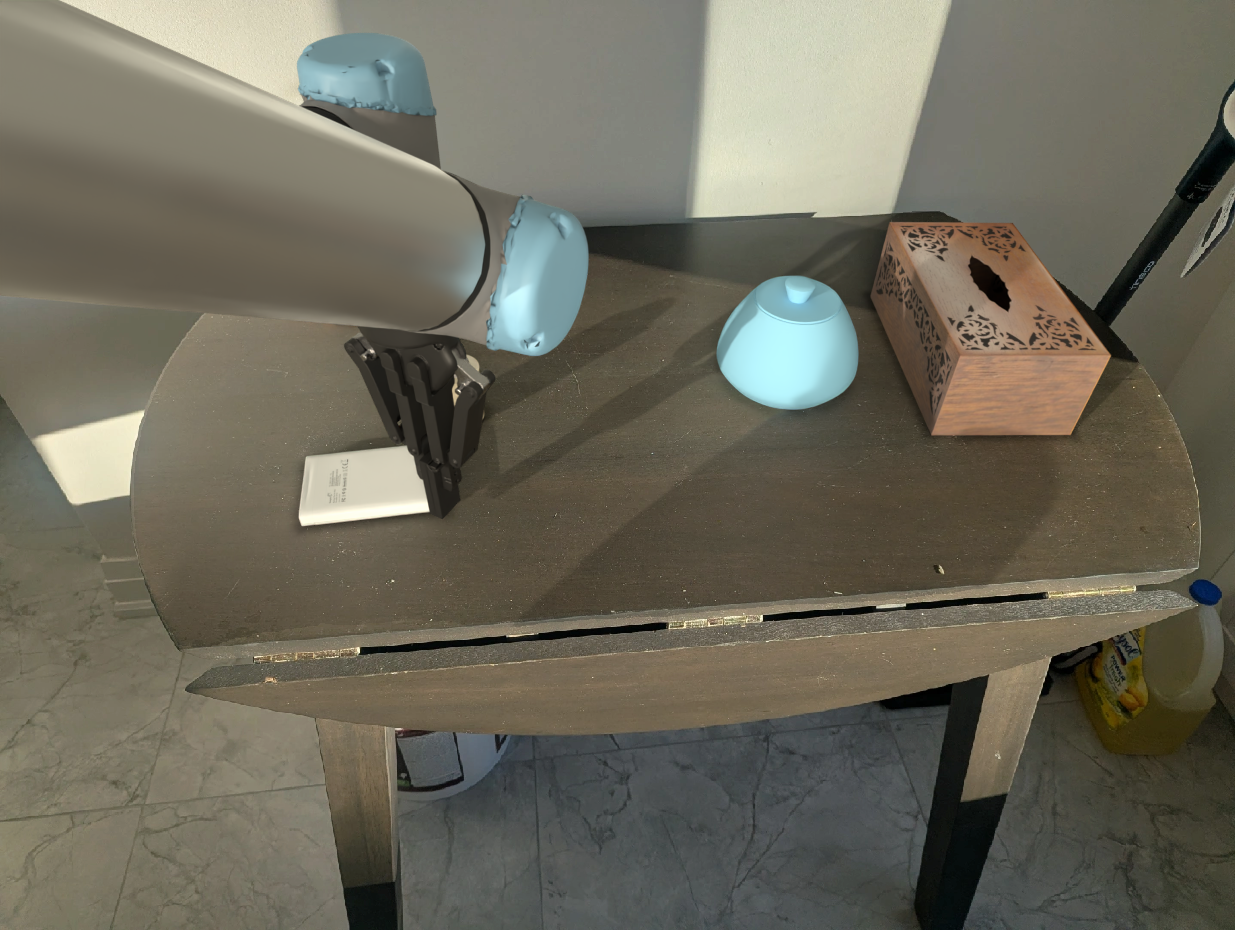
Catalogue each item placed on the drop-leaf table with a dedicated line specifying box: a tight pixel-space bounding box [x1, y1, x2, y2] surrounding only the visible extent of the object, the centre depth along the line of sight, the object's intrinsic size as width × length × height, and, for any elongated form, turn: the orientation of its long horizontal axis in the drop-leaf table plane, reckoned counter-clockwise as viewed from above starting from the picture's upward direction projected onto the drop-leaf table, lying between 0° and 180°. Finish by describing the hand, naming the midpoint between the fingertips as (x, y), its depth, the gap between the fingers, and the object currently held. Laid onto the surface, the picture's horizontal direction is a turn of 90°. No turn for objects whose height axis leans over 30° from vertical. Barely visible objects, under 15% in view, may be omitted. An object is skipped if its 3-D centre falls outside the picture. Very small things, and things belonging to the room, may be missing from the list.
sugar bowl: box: [715, 275, 860, 411], centre depth 90 cm, size 15×15×12 cm
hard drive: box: [298, 445, 430, 527], centre depth 80 cm, size 2×8×12 cm
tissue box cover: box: [869, 221, 1112, 436], centre depth 94 cm, size 26×14×10 cm, turn 2°
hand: (445, 506), depth 77 cm, fingers closed
